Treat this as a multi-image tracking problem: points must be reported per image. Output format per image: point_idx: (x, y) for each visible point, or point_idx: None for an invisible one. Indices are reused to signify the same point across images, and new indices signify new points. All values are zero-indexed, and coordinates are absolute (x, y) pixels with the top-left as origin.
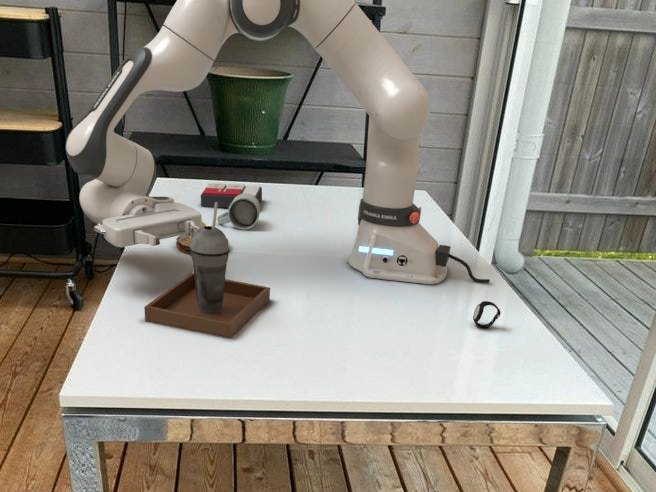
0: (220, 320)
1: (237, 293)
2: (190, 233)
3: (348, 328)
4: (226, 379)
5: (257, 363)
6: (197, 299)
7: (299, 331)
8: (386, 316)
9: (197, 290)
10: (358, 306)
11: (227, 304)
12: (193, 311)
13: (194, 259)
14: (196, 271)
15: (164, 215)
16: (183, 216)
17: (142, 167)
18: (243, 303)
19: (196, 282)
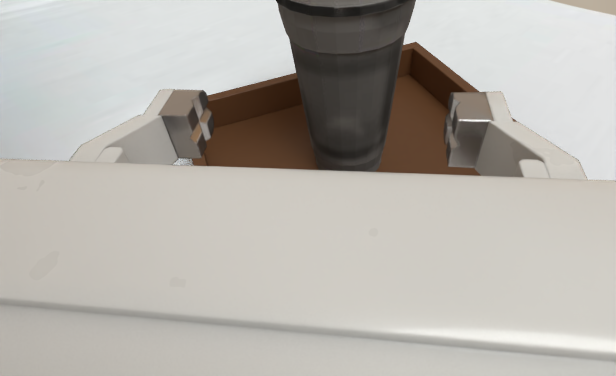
0: (424, 55)
1: None
2: (202, 133)
3: (215, 29)
4: (511, 14)
5: (433, 21)
6: (384, 142)
7: (284, 47)
8: (129, 29)
9: (390, 112)
10: (109, 57)
11: (288, 156)
12: (395, 169)
13: (412, 10)
14: (401, 52)
15: (146, 255)
16: (77, 166)
17: None
18: (252, 143)
19: (393, 93)
